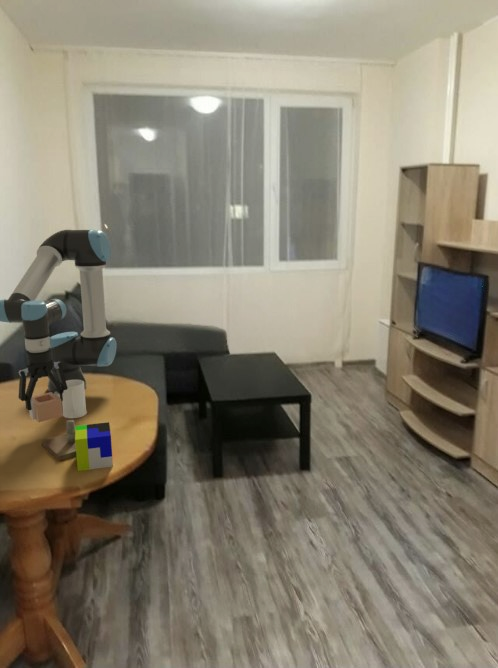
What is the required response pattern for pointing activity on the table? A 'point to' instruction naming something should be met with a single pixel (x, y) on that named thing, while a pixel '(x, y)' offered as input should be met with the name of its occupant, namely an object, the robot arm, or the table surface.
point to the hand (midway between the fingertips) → (46, 414)
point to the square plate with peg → (62, 443)
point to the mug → (74, 399)
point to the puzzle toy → (93, 446)
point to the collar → (47, 406)
